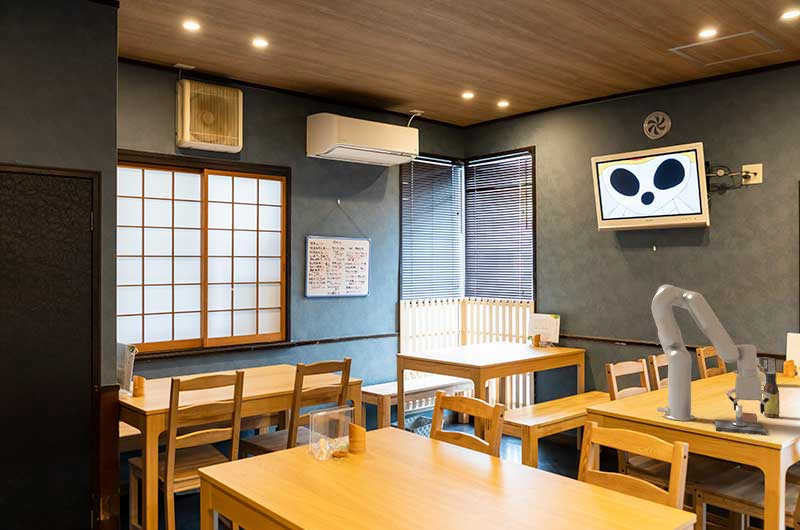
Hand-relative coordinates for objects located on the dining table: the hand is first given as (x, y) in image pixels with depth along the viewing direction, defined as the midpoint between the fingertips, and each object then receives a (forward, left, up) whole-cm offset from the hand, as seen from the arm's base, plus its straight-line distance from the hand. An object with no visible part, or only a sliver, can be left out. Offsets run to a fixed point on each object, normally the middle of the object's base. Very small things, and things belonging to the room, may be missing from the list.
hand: (749, 412), depth 285 cm
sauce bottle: (+10, +17, -5) cm, 20 cm away
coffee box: (+17, +112, -5) cm, 113 cm away
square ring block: (-1, 0, -4) cm, 4 cm away
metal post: (-5, -15, -3) cm, 16 cm away
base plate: (-5, -15, -4) cm, 16 cm away
